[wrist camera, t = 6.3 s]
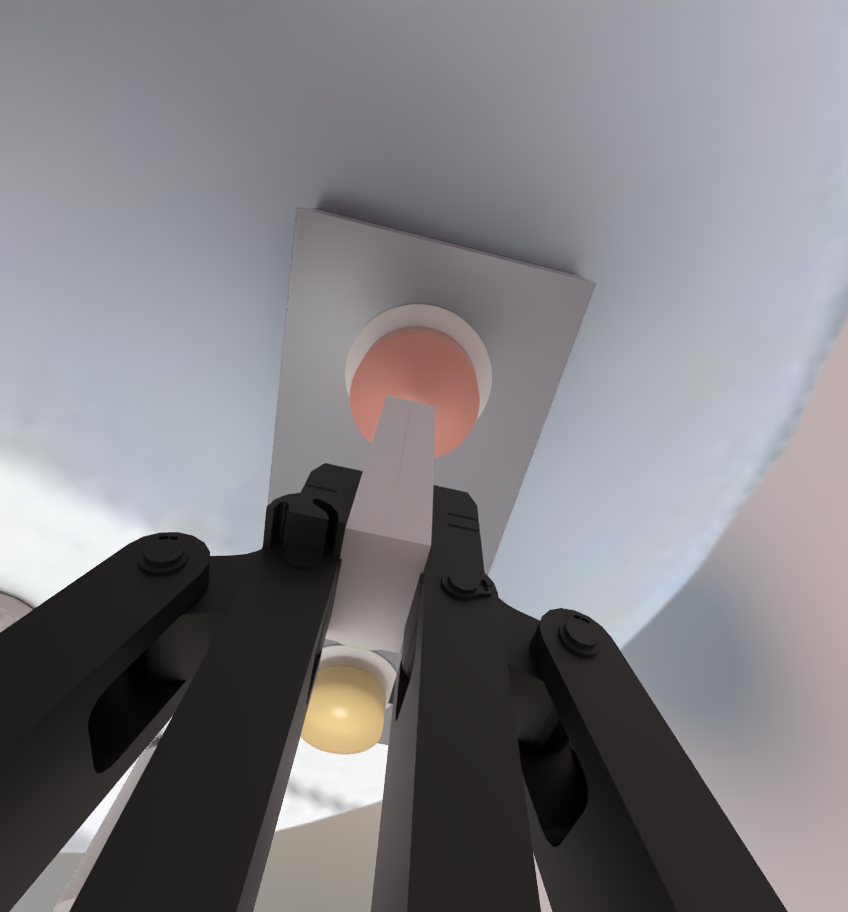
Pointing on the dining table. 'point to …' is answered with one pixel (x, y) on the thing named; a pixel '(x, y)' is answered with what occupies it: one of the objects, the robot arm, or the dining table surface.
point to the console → (430, 305)
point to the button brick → (418, 382)
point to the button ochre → (344, 711)
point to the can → (102, 835)
